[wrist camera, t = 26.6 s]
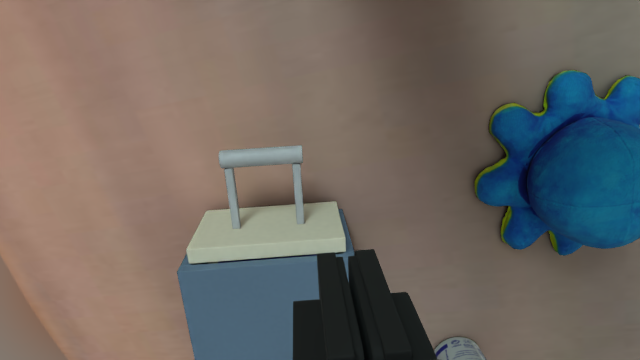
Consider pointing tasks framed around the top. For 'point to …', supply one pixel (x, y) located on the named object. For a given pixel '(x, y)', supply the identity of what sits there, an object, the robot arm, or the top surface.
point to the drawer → (266, 218)
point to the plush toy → (568, 166)
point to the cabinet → (248, 304)
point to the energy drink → (458, 350)
